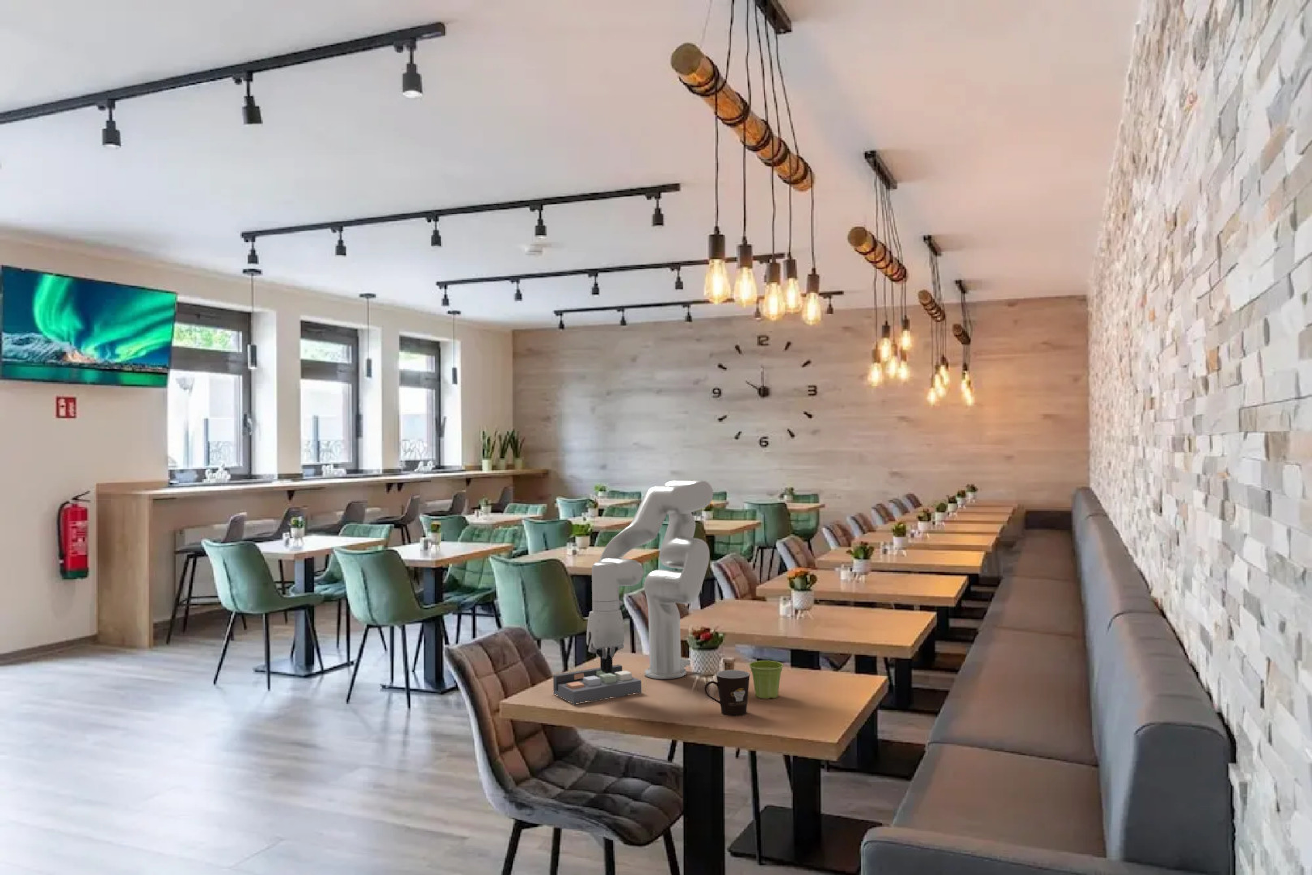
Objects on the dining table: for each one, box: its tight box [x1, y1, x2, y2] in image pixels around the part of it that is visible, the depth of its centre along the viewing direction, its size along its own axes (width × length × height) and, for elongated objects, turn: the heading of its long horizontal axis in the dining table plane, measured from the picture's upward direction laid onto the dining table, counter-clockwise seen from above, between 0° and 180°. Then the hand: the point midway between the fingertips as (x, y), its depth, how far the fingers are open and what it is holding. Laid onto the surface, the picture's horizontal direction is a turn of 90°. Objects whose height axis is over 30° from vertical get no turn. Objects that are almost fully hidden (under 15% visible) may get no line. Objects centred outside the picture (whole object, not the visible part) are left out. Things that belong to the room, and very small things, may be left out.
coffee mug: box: [704, 669, 751, 717], centre depth 244 cm, size 12×9×10 cm
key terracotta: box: [567, 682, 584, 689], centre depth 261 cm, size 4×4×2 cm
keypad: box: [552, 664, 642, 705], centre depth 266 cm, size 21×13×6 cm, turn 121°
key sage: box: [599, 673, 616, 684], centre depth 266 cm, size 4×4×2 cm
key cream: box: [614, 670, 633, 681], centre depth 268 cm, size 4×4×2 cm
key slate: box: [583, 676, 600, 686], centre depth 263 cm, size 4×4×2 cm
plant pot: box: [748, 660, 784, 700], centre depth 259 cm, size 9×9×9 cm
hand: (606, 671), depth 265 cm, fingers closed
